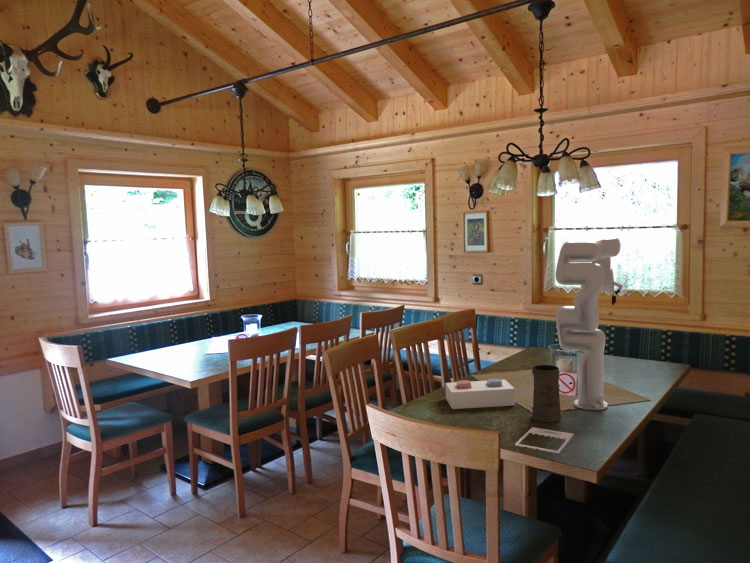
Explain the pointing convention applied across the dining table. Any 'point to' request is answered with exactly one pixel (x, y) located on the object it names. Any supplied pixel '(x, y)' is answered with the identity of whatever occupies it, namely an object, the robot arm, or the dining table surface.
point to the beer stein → (546, 393)
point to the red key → (463, 384)
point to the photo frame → (547, 433)
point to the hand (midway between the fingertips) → (601, 304)
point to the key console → (480, 395)
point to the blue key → (494, 382)
